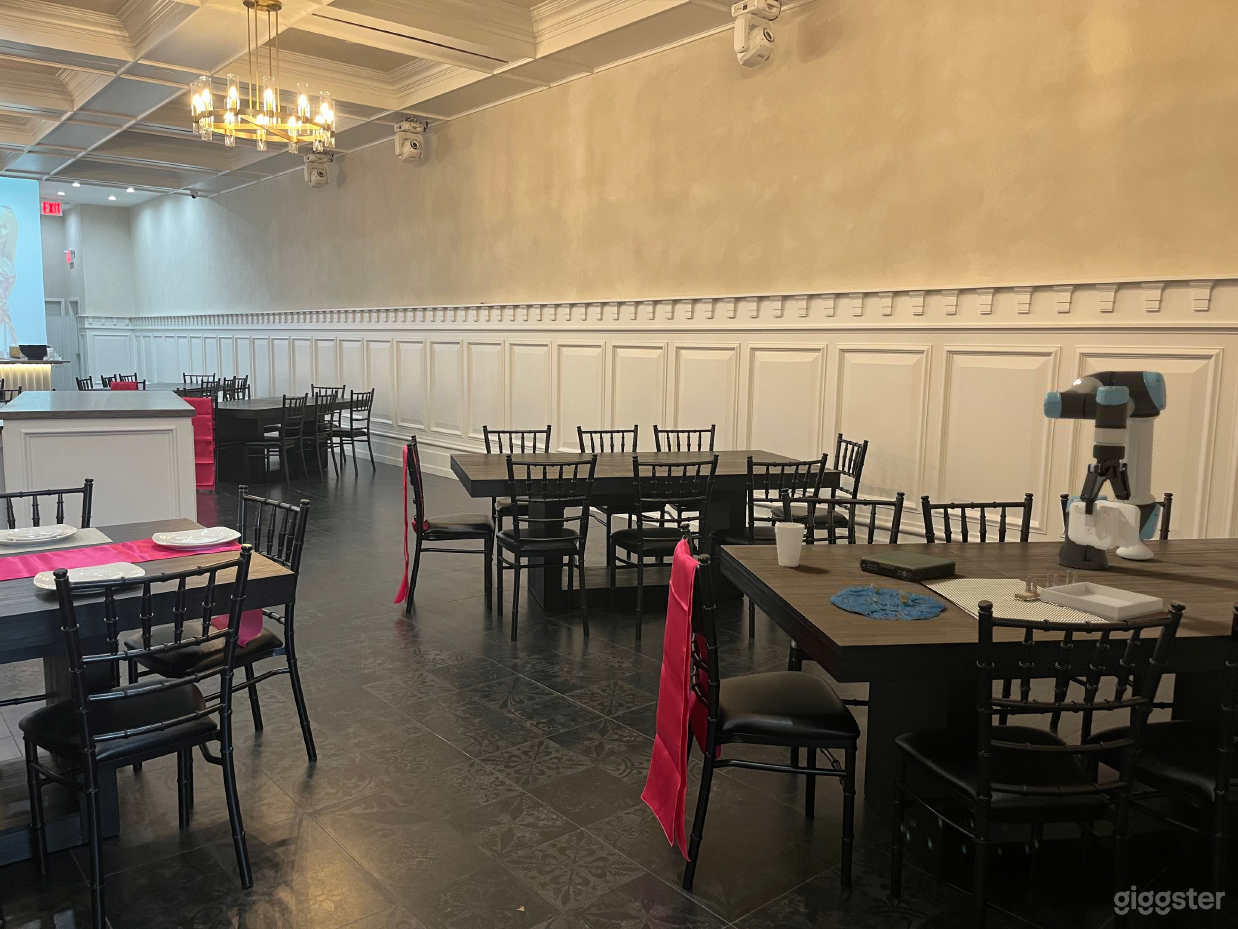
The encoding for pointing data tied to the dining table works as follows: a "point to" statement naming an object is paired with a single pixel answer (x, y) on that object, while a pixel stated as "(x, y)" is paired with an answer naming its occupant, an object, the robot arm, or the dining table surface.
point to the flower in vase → (1136, 552)
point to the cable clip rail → (1036, 593)
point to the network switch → (908, 565)
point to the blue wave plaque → (887, 603)
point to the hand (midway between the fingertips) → (1103, 525)
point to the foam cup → (789, 543)
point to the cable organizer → (1105, 525)
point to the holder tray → (1102, 600)
